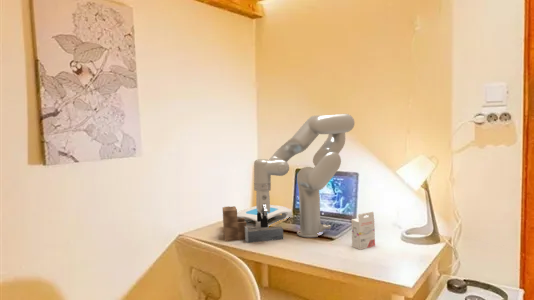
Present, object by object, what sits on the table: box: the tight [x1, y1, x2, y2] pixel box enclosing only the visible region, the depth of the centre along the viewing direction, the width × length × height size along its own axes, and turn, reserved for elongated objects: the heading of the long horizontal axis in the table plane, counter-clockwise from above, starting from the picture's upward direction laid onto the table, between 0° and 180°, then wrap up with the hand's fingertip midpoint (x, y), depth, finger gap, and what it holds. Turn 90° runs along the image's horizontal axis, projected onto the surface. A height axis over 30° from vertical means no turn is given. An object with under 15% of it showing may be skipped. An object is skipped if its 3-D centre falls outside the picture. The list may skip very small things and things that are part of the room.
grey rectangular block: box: [244, 225, 284, 244], centre depth 173 cm, size 17×4×7 cm, turn 100°
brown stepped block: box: [222, 206, 246, 242], centre depth 184 cm, size 10×22×14 cm, turn 10°
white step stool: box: [237, 204, 293, 229], centre depth 204 cm, size 21×28×6 cm
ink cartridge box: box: [350, 211, 376, 250], centre depth 159 cm, size 9×5×15 cm, turn 117°
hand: (262, 224), depth 173 cm, fingers open, 9 cm apart
